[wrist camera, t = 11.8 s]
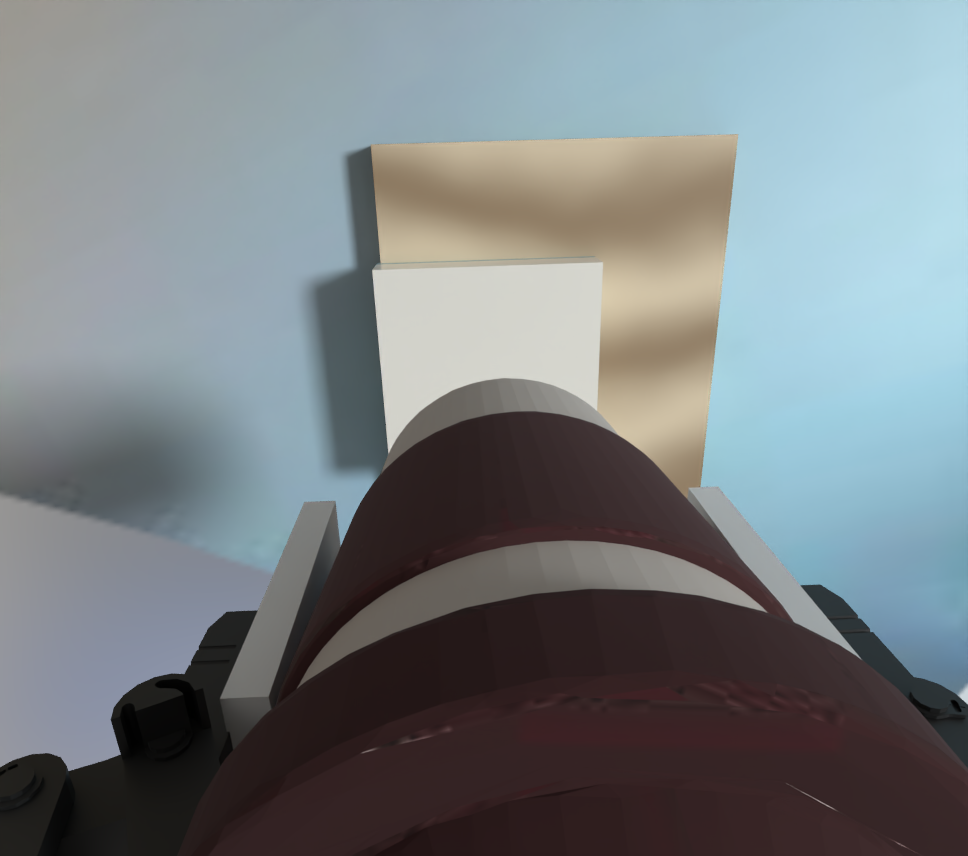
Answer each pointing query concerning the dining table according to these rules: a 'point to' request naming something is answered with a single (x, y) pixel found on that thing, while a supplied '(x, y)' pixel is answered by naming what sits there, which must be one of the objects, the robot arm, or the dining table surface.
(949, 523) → the dining table surface
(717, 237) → the board
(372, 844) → the coffee cup
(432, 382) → the tile
